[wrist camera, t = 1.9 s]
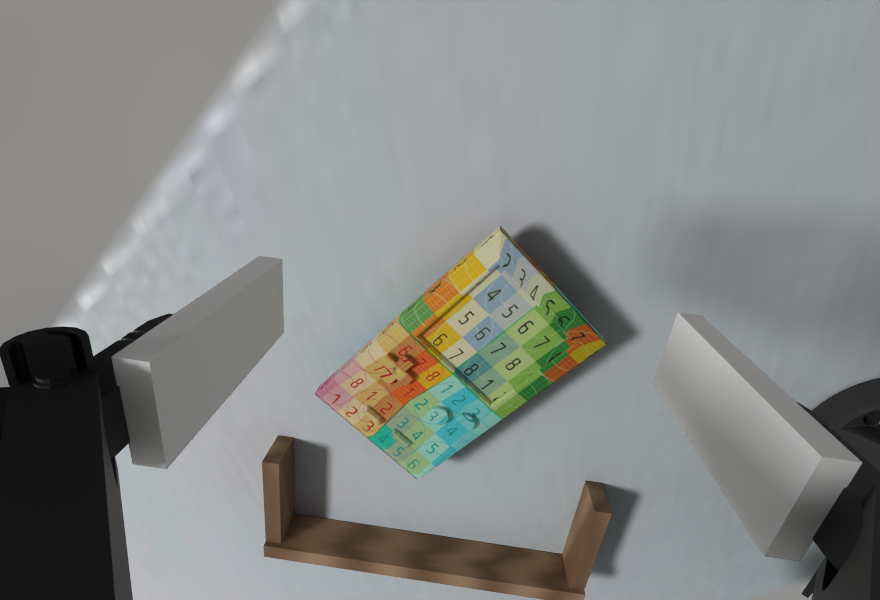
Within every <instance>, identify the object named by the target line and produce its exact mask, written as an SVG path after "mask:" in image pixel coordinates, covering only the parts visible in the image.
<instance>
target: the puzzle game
mask: <svg viewBox="0 0 880 600" xmlns="http://www.w3.org/2000/svg"><path fill="white" fill-rule="evenodd" d="M605 345H607V343H606V341H605V339H604V337H603V336H602V335H601V334H600V333H599V332H598V331H597V330H596V329H595V328H594V327H593V326H592V324H591V323H590V322H589V321H588V320H587V319H586V318H585V317H584V316H583V315H582V314H581V313H580V311H579V310H578V309H577V308H576V307H575V306H574V305H573V304H572V303H571V302H570V301H569V300H568V298H567V297H566V296H565V295H564V294H563V293H562V292H561V291H560V290H559V289H558V288H557V287H556V285H555V284H554V283H553V282H552V281H551V280H550V279H549V278H548V277H547V276H546V275H545V274H544V272H543V271H542V270H541V269H540V268H539V267H538V266H537V265H536V264H535V263H534V262H533V261H532V259H531V258H530V257H529V256H528V255H527V254H526V253H525V252H524V251H523V250H522V249H521V248H520V246H519V245H518V244H517V243H516V242H515V241H514V240H513V239H512V238H511V237H510V236H509V235H508V233H507V232H506V231H505V230H504V229H503V228H502V227H501V226H500V227H498V228H497V229H496V230H494V231H493V232H492V233H491V234H490V235H489V236H488V237H486V238H485V239H484V240H483V241H482V242H481V243H480V244H479V245H477V246H476V247H475V248H474V249H473V250H472V251H471V252H470V253H468V254H467V255H466V256H465V257H464V258H463V259H462V260H461V261H460V262H458V263H457V264H456V265H455V266H454V267H453V268H452V269H451V270H449V271H448V272H447V273H446V274H445V275H444V276H443V277H442V278H440V279H439V280H438V281H437V282H436V283H435V284H434V285H433V286H431V287H430V288H429V289H428V290H427V291H426V292H425V293H424V294H422V295H421V296H420V297H419V298H418V299H417V300H416V301H415V302H413V303H412V304H411V305H410V306H409V307H408V308H407V309H406V310H404V311H403V312H402V313H401V314H400V315H399V316H398V317H397V318H395V319H394V320H393V321H392V322H391V323H390V324H389V325H388V326H386V327H385V328H384V329H383V330H382V331H381V332H380V333H379V334H378V335H376V336H375V337H374V338H373V339H372V340H371V341H370V342H369V343H367V344H366V345H365V346H364V347H363V348H362V349H361V350H360V351H358V352H357V353H356V354H355V355H354V356H353V357H352V358H351V359H349V360H348V361H347V362H346V363H345V364H344V365H343V366H342V367H340V368H339V369H338V370H337V371H336V372H335V373H334V374H333V375H331V376H330V377H329V378H328V379H327V380H326V381H325V382H324V383H322V384H321V385H320V386H319V388H318V390H317V392H316V393H315V395H316V396H318V397H319V398H320V399H321V400H322V401H324V402H325V403H326V404H327V405H328V406H330V407H331V408H332V409H333V410H334V411H336V412H337V413H338V414H339V415H340V416H342V417H343V418H344V419H345V420H346V421H348V422H349V423H350V424H351V425H352V426H354V427H355V428H356V429H357V430H358V431H360V432H361V433H362V434H363V435H364V436H366V437H367V438H368V439H369V440H370V441H372V442H373V443H374V444H375V445H376V446H378V447H379V448H380V449H381V450H382V451H384V452H385V453H386V454H387V455H388V456H390V457H391V458H392V459H393V460H394V461H396V462H397V463H398V464H399V465H400V466H402V467H403V468H404V469H405V470H406V471H408V472H409V473H410V474H411V475H412V476H414V477H415V478H416V479H418V478H420V477H423V476H424V475H425V474H427V473H428V472H429V471H431V470H432V469H434V468H435V467H436V466H438V465H439V464H441V463H442V462H443V461H445V460H446V459H448V458H449V457H450V456H452V455H453V454H455V453H456V452H457V451H459V450H460V449H462V448H463V447H464V446H466V445H467V444H469V443H470V442H471V441H473V440H474V439H476V438H477V437H478V436H480V435H481V434H483V433H484V432H485V431H487V430H488V429H490V428H491V427H492V426H494V425H495V424H497V423H498V422H499V421H501V420H502V419H503V418H505V417H506V416H508V415H509V414H510V413H512V412H513V411H515V410H516V409H517V408H519V407H520V406H522V405H523V404H524V403H526V402H527V401H529V400H530V399H531V398H533V397H534V396H536V395H537V394H538V393H540V392H541V391H543V390H544V389H545V388H547V387H548V386H550V385H551V384H552V383H554V382H555V381H557V380H558V379H559V378H561V377H562V376H564V375H565V374H566V373H568V372H569V371H571V370H572V369H573V368H575V367H576V366H577V365H579V364H580V363H582V362H583V361H584V360H586V359H587V358H589V357H590V356H591V355H593V354H594V353H596V352H597V351H598V350H600V349H601V348H603V347H604V346H605Z"/></svg>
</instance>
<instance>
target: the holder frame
mask: <svg viewBox="0 0 880 600" xmlns="http://www.w3.org/2000/svg"><path fill="white" fill-rule="evenodd" d="M262 470H263V491H264V511H265V532H266V542H265V544H264V557H271V558H277V559H284V560H290V561H297V562H303V563H310V564H316V565H323V566H329V567H336V568H342V569H349V570H355V571H362V572H368V573H375V574H381V575H388V576H394V577H401V578H407V579H414V580H420V581H427V582H433V583H440V584H446V585H453V586H459V587H466V588H472V589H479V590H485V591H492V592H498V593H505V594H511V595H518V596H524V597H531V598H537V599H544V600H584V597H585V591H584V589H585V586H586V584H587V581H588V578H589V575H590V573H591V570H592V567H593V565H594V562H595V559H596V556H597V554H598V551H599V548H600V545H601V543H602V540H603V537H604V535H605V532H606V529H607V526H608V524H609V521H610V518H611V516H612V512H611V509H610V506H609V503H608V500H607V497H606V494H605V491H604V488H603V485H602V483H597V482H590V481H586V482H585V485H584V488H583V492H582V495H581V498H580V501H579V504H578V507H577V510H576V513H575V516H574V519H573V522H572V526H571V529H570V532H569V535H568V538H567V541H566V544H565V547H564V550H563V553H562V554H556V553H550V552H543V551H537V550H530V549H523V548H517V547H510V546H503V545H497V544H490V543H484V542H477V541H470V540H464V539H457V538H451V537H444V536H437V535H431V534H424V533H417V532H411V531H404V530H398V529H391V528H384V527H378V526H371V525H365V524H358V523H351V522H345V521H338V520H332V519H325V518H318V517H312V516H305V515H298V514H295V511H294V438H291V437H284V436H278V437H277V438H276V440H275V442H274V443H273V445H272V446H271V448H270V450H269V451H268V453H267V455H266V456H265V458H264V460H263V461H262Z"/></svg>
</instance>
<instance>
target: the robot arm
mask: <svg viewBox="0 0 880 600" xmlns="http://www.w3.org/2000/svg"><path fill="white" fill-rule="evenodd" d="M283 333H284V317H283V275H282V259H279V258H271V257H264V256H259V257H257V258H256V259H254V260H253V261H251V262H250V263H248V264H247V265H245V266H244V267H242V268H241V269H239V270H238V271H237V272H235V273H234V274H232V275H231V276H229V277H228V278H226V279H225V280H223V281H222V282H220V283H219V284H217V285H216V286H215V287H213V288H212V289H210V290H209V291H207V292H206V293H204V294H203V295H201V296H200V297H198V298H197V299H195V300H194V301H193V302H191V303H190V304H188V305H187V306H185V307H184V308H182V309H181V310H179V311H178V312H176V313H175V314H166V315H163V316H161V317H158V318H155V319H152V320H149V321H147V322H146V323H144V324H143V325H141V326H140V327H138V328H136V329H135V330H134V332H133V333H132V332H130V333H129V334H127V335H126V336H124V337H123V338H121V341H120V340H118V341H116V342H115V343H113V344H112V345H110V346H109V347H107V348H106V349H104V350H103V351H101V352H99V353H98V354H96V355H95V356H93V354H92V349H91V344H90V340H89V336H88V334H87V333H86V331H84V330H81V329H79V328H74V327H51V328H43V329H39V330H34V331H29V332H26V333H24V334H21V335H18V336H15V337H13V338H12V339H10V340H8V341H6V342H5V343H3V344H2V346H1V347H0V357H1V360H2V363H3V366H4V369H5V373H6V376H7V379H8V383H9V386H10V387H1V388H0V600H133V598H132V589H131V581H130V572H129V563H128V554H127V546H126V537H125V528H124V520H123V511H122V502H121V494H120V485H119V476H118V468H117V463H116V459H115V456H116V455H117V454H118V453H119V452H120V451H121V450H122V449H123V448H124V447H125V446H126V445H127V444H128V443H129V448H130V453H131V458H132V463H133V464H135V465H142V466H149V467H155V468H162V469H167V468H168V467H169V466H170V465H171V464H172V462H173V461H174V460H175V459H176V458H177V456H178V455H179V454H180V453H181V452H182V451H183V449H184V448H185V447H186V446H187V445H188V444H189V442H190V441H191V440H192V439H193V438H194V437H195V435H196V434H197V433H198V432H199V431H200V430H201V428H202V427H203V426H204V425H205V424H206V423H207V421H208V420H209V419H210V418H211V417H212V416H213V414H214V413H215V412H216V411H217V410H218V409H219V407H220V406H221V405H222V404H223V403H224V402H225V400H226V399H227V398H228V397H229V396H230V395H231V393H232V392H233V391H234V390H235V389H236V388H237V386H238V385H239V384H240V383H241V382H242V381H243V379H244V378H245V377H246V376H247V375H248V374H249V372H250V371H251V370H252V369H253V368H254V367H255V365H256V364H257V363H258V362H259V361H260V360H261V358H262V357H263V356H264V355H265V354H266V353H267V351H268V350H269V349H270V348H271V347H272V346H273V344H274V343H275V342H276V341H277V340H278V339H279V337H280V336H281V335H282V334H283ZM653 385H654V387H655V388H656V390H657V391H658V393H659V394H660V396H661V397H662V399H663V400H664V402H665V404H666V405H667V407H668V408H669V410H670V411H671V413H672V414H673V416H674V417H675V419H676V421H677V422H678V424H679V425H680V427H681V428H682V430H683V431H684V433H685V434H686V436H687V438H688V439H689V441H690V442H691V444H692V445H693V447H694V448H695V450H696V452H697V453H698V455H699V456H700V458H701V459H702V461H703V462H704V464H705V465H706V467H707V469H708V470H709V472H710V473H711V475H712V476H713V478H714V479H715V481H716V482H717V484H718V486H719V487H720V489H721V490H722V492H723V493H724V495H725V496H726V498H727V499H728V501H729V503H730V504H731V506H732V507H733V509H734V510H735V512H736V513H737V515H738V516H739V518H740V520H741V521H742V523H743V524H744V526H745V527H746V529H747V530H748V532H749V534H750V535H751V537H752V538H753V540H754V541H755V543H756V544H757V546H758V547H759V549H760V551H761V552H762V554H763V555H764V556H767V557H774V558H781V559H788V560H794V561H800V560H801V559H802V557H803V556H804V554H805V553H806V551H807V549H808V548H809V546H810V545H811V543H812V542H813V541H814V542H815V543H816V544H817V546H818V547H819V548H820V549H821V551H822V552H823V553H824V555H825V556H826V558H825V559H824V561H823V562H822V564H821V565H820V567H819V568H818V570H817V571H816V573H815V574H814V576H813V577H812V579H811V580H810V582H809V583H808V585H807V586H806V588H805V589H804V591H803V592H802V594H803V595H804V596H806V597H807V598H808V597H809V596H810V595H811V594H812V593H813V596H812V600H880V379H876V380H872V381H868V382H865V383H862V384H859V385H856V386H853V387H851V388H848V389H846V390H844V391H842V392H840V393H838V394H836V395H834V396H832V397H831V398H829V399H827V400H826V401H824V402H823V403H821V404H820V405H819V406H817V407H816V408H815V409H813V410H812V411H811V410H809V409H808V408H806V407H804V406H803V405H801V404H800V403H798V402H796V401H795V400H793V399H792V398H791V397H790V396H789V395H788V394H787V393H786V392H785V391H784V390H782V389H781V388H780V387H779V386H778V385H777V384H776V383H775V382H774V381H773V380H771V379H770V378H769V377H768V376H767V375H766V374H765V373H764V372H763V371H762V370H761V369H759V368H758V367H757V366H756V365H755V364H754V363H753V362H752V361H751V360H750V359H748V358H747V357H746V356H745V355H744V354H743V353H742V352H741V351H740V350H739V349H738V348H736V347H735V346H734V345H733V344H732V343H731V342H730V341H729V340H728V339H727V338H725V337H724V336H723V335H722V334H721V333H720V332H719V331H718V330H717V329H716V328H715V327H713V326H712V325H711V324H710V323H709V322H708V321H707V320H706V319H705V318H704V317H702V316H700V315H693V314H685V313H678V314H677V317H676V320H675V322H674V325H673V328H672V331H671V333H670V336H669V339H668V342H667V344H666V347H665V350H664V353H663V356H662V358H661V361H660V364H659V367H658V369H657V372H656V375H655V378H654V380H653Z"/></svg>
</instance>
